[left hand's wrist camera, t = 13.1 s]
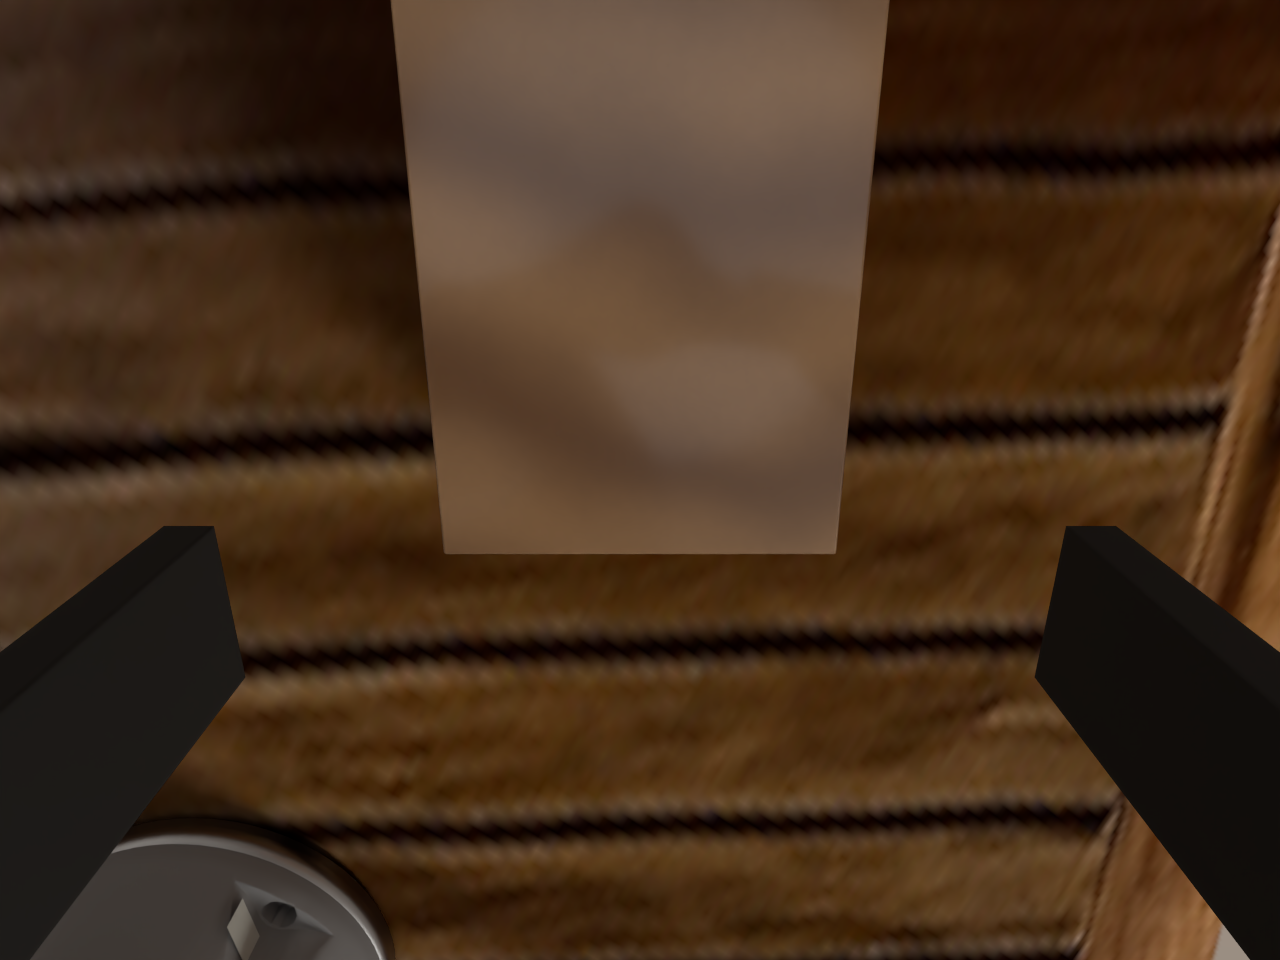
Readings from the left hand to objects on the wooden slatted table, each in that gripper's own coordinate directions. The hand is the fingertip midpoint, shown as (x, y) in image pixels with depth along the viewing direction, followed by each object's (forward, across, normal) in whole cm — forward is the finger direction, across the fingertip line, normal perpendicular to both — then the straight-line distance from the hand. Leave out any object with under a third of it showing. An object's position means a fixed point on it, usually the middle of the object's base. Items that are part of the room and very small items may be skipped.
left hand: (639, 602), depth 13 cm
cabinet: (+16, 0, -6) cm, 17 cm away
